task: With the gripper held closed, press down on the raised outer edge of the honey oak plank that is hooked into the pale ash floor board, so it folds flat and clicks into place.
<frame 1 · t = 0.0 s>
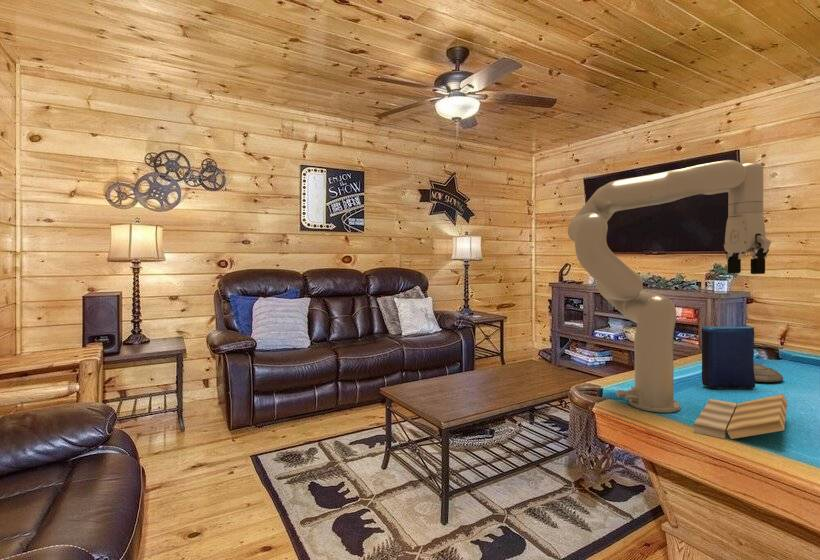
hand: (745, 273, 117), 37 cm above the table, tool pointing down, fingers open, 9 cm apart
book: (728, 388, 136), on the table
ash board: (732, 423, 107), on the table
oak plank: (758, 415, 103), point 3 cm above the table, hinge at 25.0°
flying saucer: (754, 379, 146), on the table
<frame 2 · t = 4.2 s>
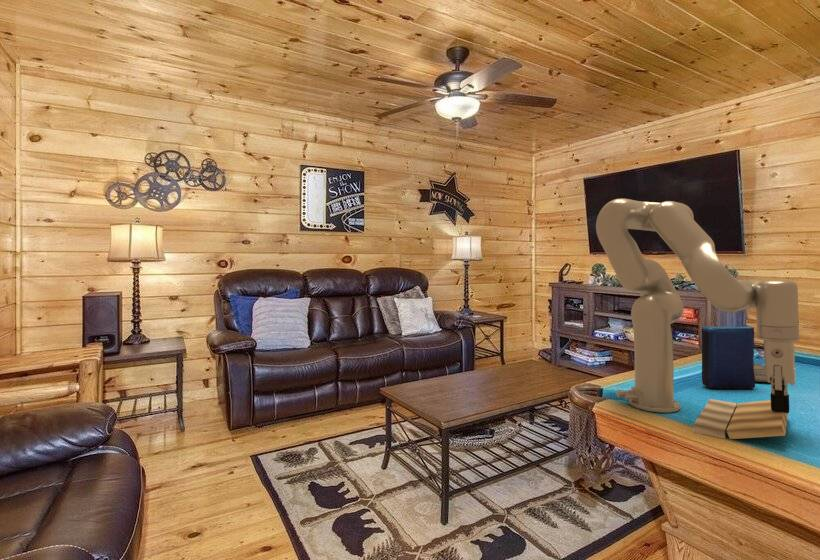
hand: (780, 411, 101), 5 cm above the table, tool pointing down, fingers closed
oak plank: (759, 417, 103), point 3 cm above the table, hinge at 18.7°, touching gripper
everything else where it was.
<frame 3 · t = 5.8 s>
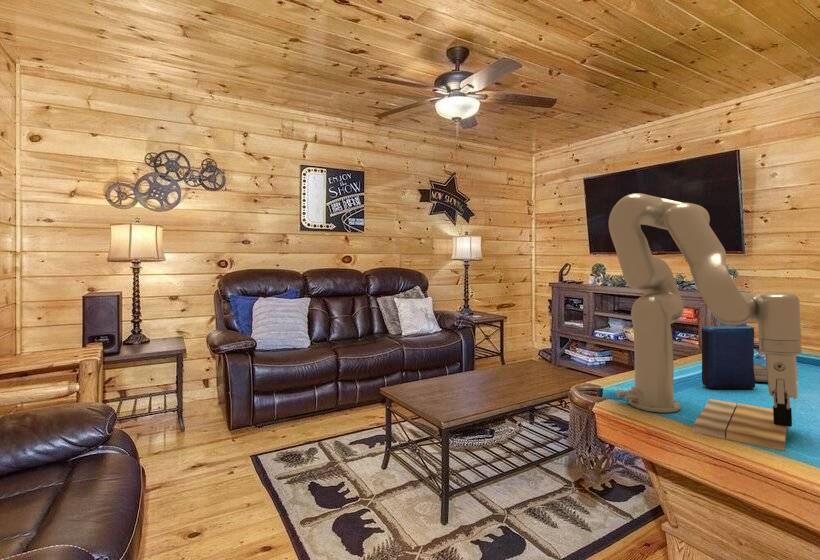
hand: (782, 424, 100), 2 cm above the table, tool pointing down, fingers closed
oak plank: (758, 424, 103), point 1 cm above the table, hinge at -0.5°, touching gripper
everything else where it was.
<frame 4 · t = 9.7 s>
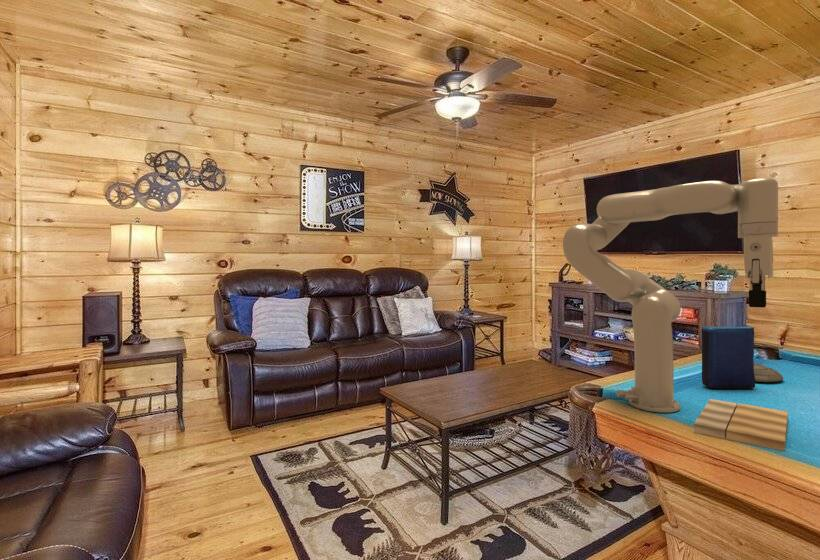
hand: (757, 306, 104), 29 cm above the table, tool pointing down, fingers closed
oak plank: (758, 424, 103), point 1 cm above the table, hinge at -0.5°
everything else where it was.
at the end: oak plank at +0° (first picture: +25°) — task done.
